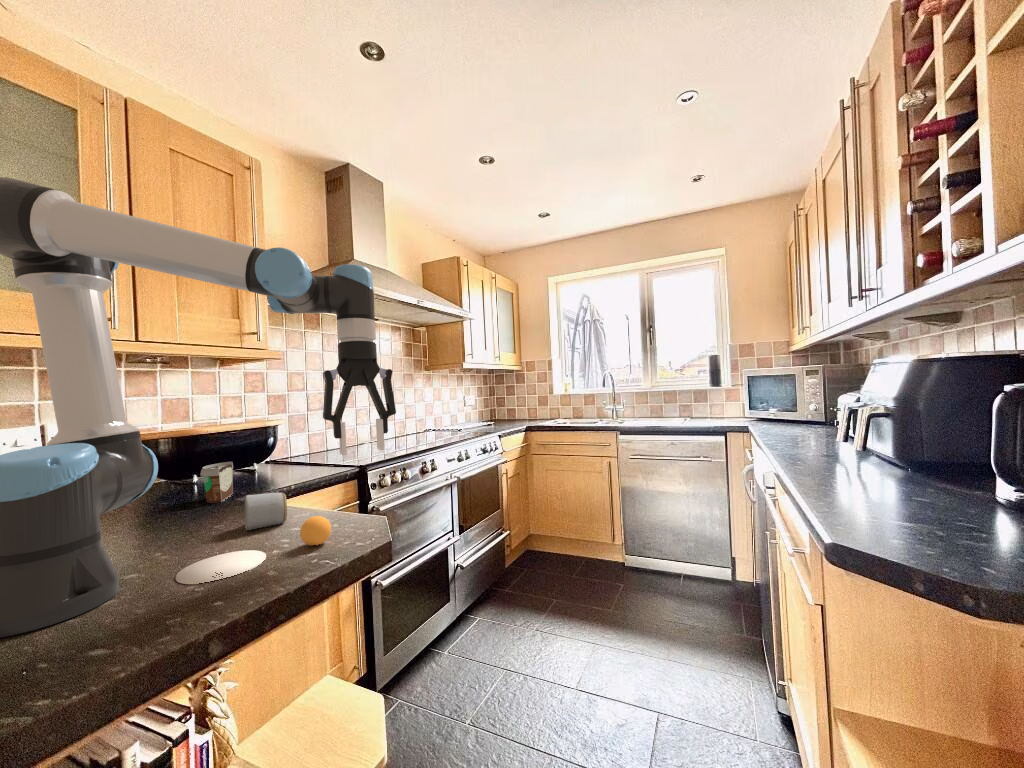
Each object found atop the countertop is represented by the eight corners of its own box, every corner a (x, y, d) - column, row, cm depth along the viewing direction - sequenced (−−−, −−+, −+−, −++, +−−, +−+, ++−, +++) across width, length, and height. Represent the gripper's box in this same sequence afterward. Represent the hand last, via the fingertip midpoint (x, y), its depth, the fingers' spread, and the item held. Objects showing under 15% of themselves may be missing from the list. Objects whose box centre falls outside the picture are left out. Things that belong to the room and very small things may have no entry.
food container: (211, 496, 126) (209, 463, 126) (234, 493, 128) (233, 461, 128) (193, 506, 115) (192, 470, 115) (219, 503, 117) (217, 468, 117)
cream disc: (170, 592, 64) (170, 591, 64) (180, 564, 74) (180, 563, 74) (267, 568, 71) (267, 567, 71) (264, 545, 82) (264, 544, 82)
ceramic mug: (289, 525, 94) (287, 491, 94) (246, 535, 89) (244, 499, 89) (282, 516, 102) (281, 484, 102) (243, 523, 97) (242, 491, 98)
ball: (302, 552, 77) (301, 523, 77) (299, 544, 82) (297, 516, 82) (334, 545, 80) (332, 517, 80) (329, 537, 85) (328, 510, 85)
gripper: (398, 344, 95) (403, 444, 95) (302, 343, 84) (307, 456, 84) (409, 340, 88) (414, 447, 88) (306, 338, 77) (312, 460, 77)
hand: (362, 451), depth 86 cm, fingers open, 7 cm apart
